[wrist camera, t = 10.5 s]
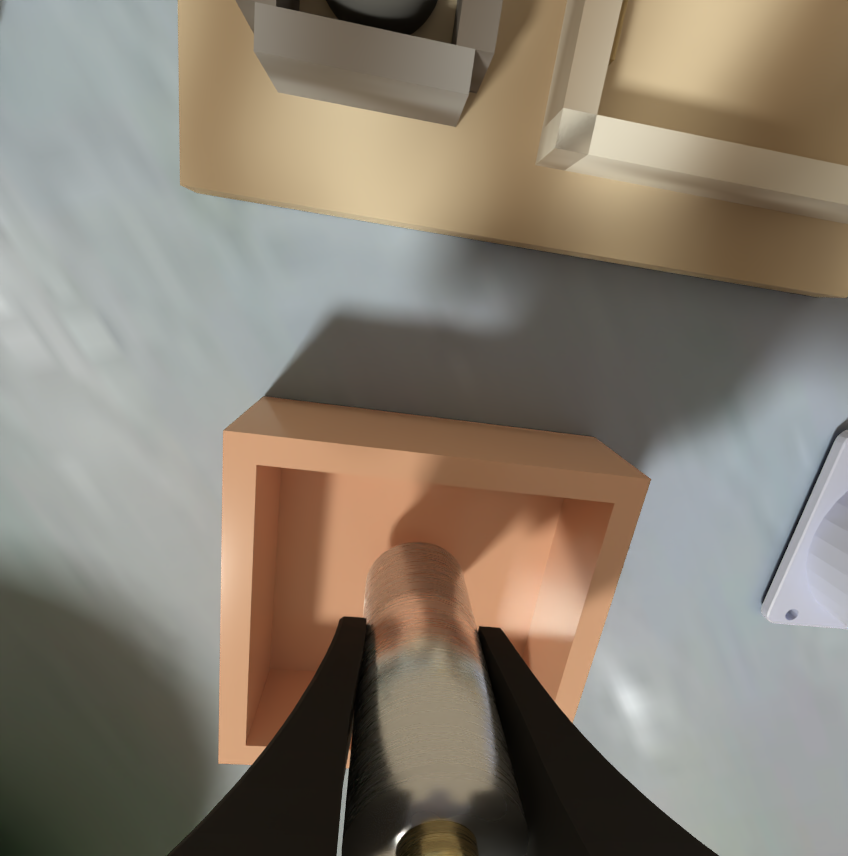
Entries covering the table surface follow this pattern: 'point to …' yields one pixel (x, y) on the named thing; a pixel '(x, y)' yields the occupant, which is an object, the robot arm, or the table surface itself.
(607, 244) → the wooden board with compartments
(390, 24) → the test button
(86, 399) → the table surface
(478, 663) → the cell
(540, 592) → the dish
